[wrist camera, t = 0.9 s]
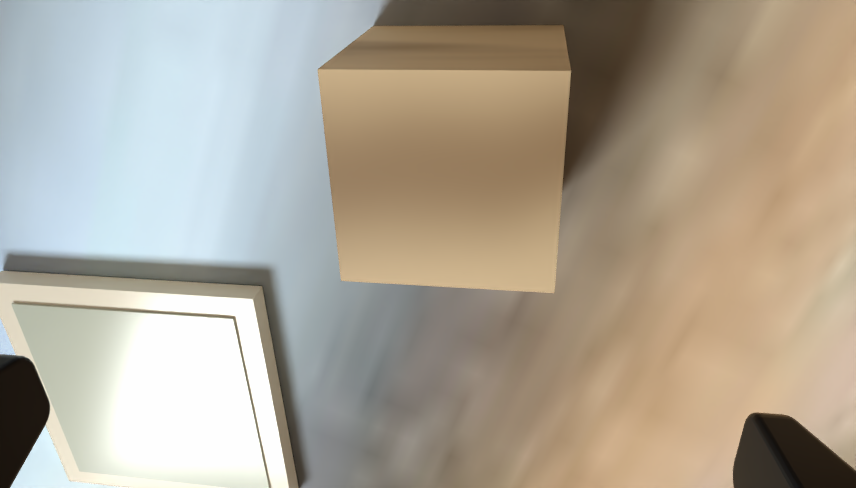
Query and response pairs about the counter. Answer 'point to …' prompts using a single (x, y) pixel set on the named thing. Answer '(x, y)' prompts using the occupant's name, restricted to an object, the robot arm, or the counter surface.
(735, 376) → the counter surface
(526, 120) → the cube
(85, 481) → the tile
